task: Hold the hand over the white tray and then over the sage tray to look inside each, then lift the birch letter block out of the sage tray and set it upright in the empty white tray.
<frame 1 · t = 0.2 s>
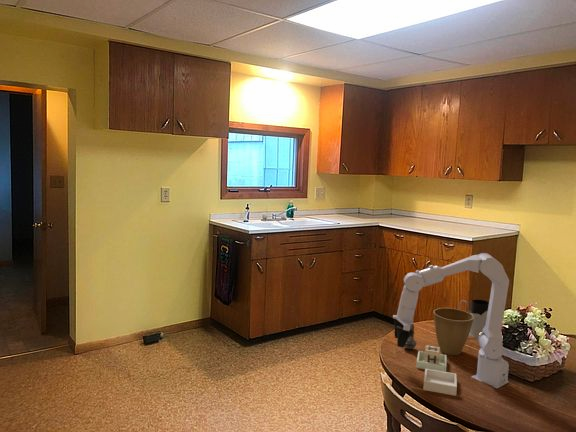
hand: (398, 342, 166), 10 cm above the table, tool pointing down, fingers open, 7 cm apart
white tray: (439, 385, 156), on the table
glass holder: (472, 333, 207), on the table
sage tray: (431, 365, 171), on the table
salt shaker: (408, 350, 186), on the table
plant pot: (450, 353, 184), on the table
letter block: (431, 364, 171), point 1 cm above the table, touching sage tray
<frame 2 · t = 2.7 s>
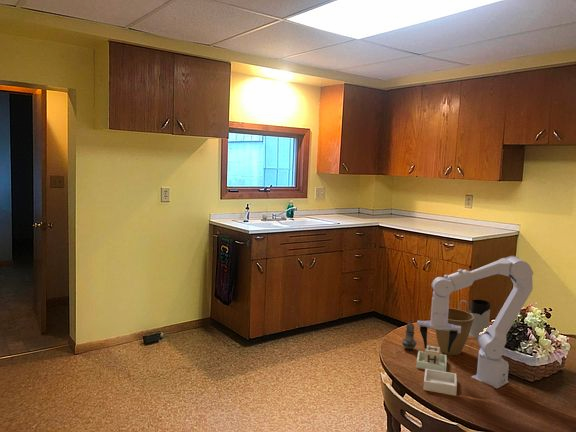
hand: (436, 349, 163), 9 cm above the table, tool pointing down, fingers open, 7 cm apart
nothing on the table moved.
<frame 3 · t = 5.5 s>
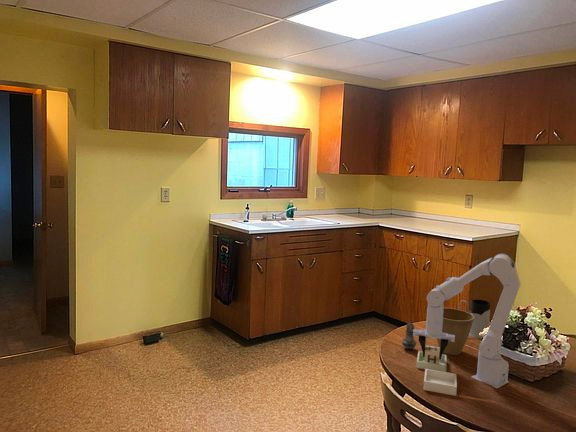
hand: (431, 357, 171), 3 cm above the table, tool pointing down, fingers closed on letter block, 5 cm apart
letter block: (431, 364, 171), point 1 cm above the table, touching gripper, sage tray
everything else where it was.
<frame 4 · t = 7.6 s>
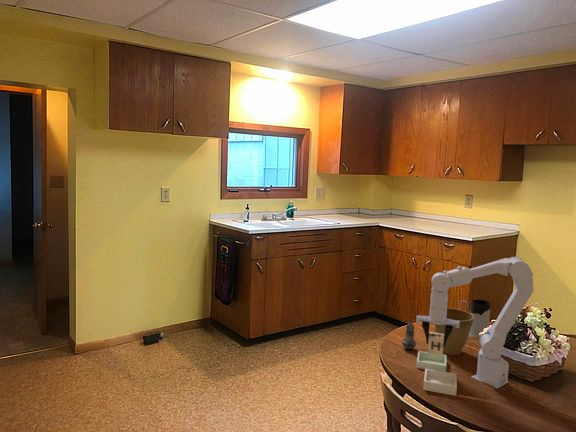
hand: (435, 343, 166), 10 cm above the table, tool pointing down, fingers closed on letter block, 5 cm apart
letter block: (435, 351, 166), point 8 cm above the table, touching gripper
everything else where it was.
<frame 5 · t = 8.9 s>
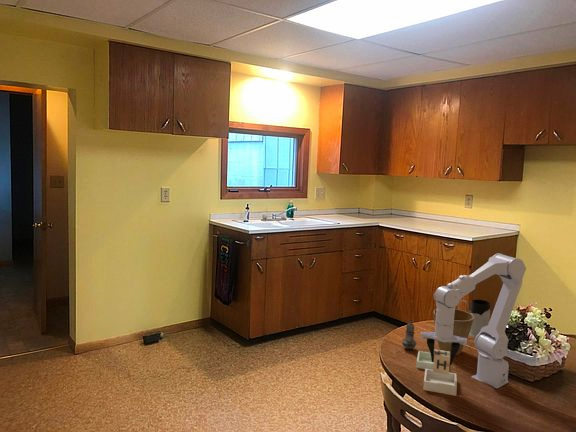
hand: (441, 362, 155), 8 cm above the table, tool pointing down, fingers closed on letter block, 5 cm apart
letter block: (440, 370, 156), point 5 cm above the table, touching gripper
everything else where it was.
when the fingers open (4 cm above the table, at t = 10.0 s): letter block stays where it is, resting on white tray.
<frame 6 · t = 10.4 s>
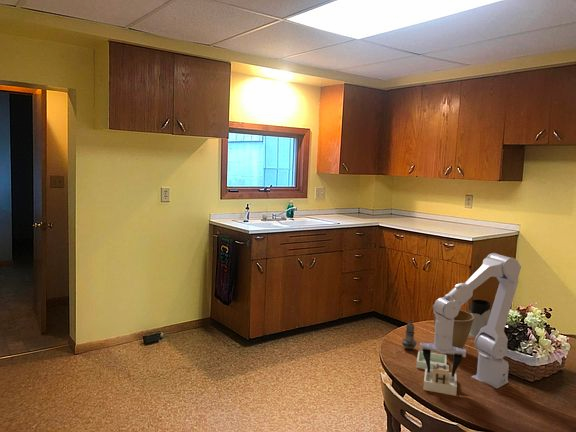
hand: (440, 373, 156), 4 cm above the table, tool pointing down, fingers open, 7 cm apart
letter block: (439, 383, 156), point 1 cm above the table, touching white tray
everything else where it was.
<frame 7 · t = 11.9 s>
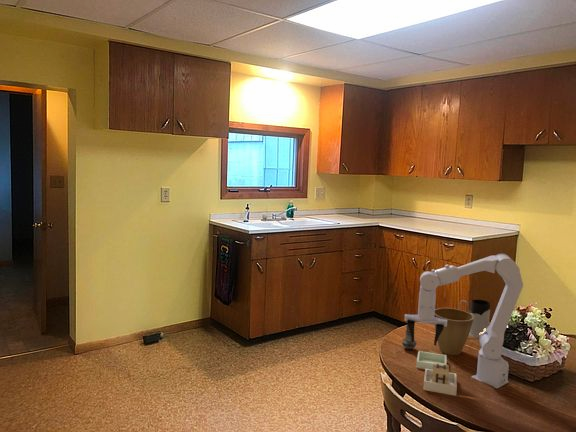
hand: (423, 342, 166), 10 cm above the table, tool pointing down, fingers open, 7 cm apart
nothing on the table moved.
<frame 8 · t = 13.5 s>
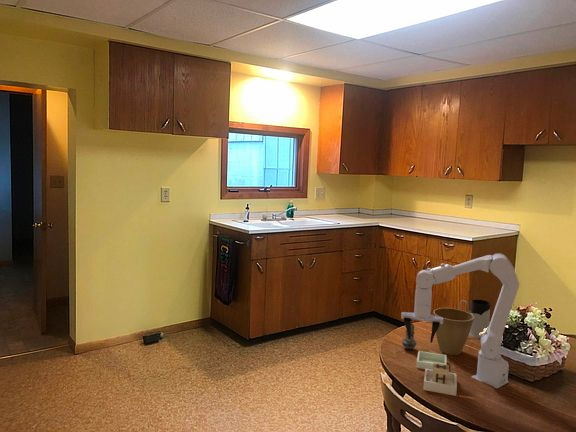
hand: (420, 339, 169), 10 cm above the table, tool pointing down, fingers open, 7 cm apart
nothing on the table moved.
at the end: letter block 0.1 cm off-centre on the white tray, point 0.6 cm above the white tray's base; letter block tilted 0°; the gripper is holding nothing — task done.
